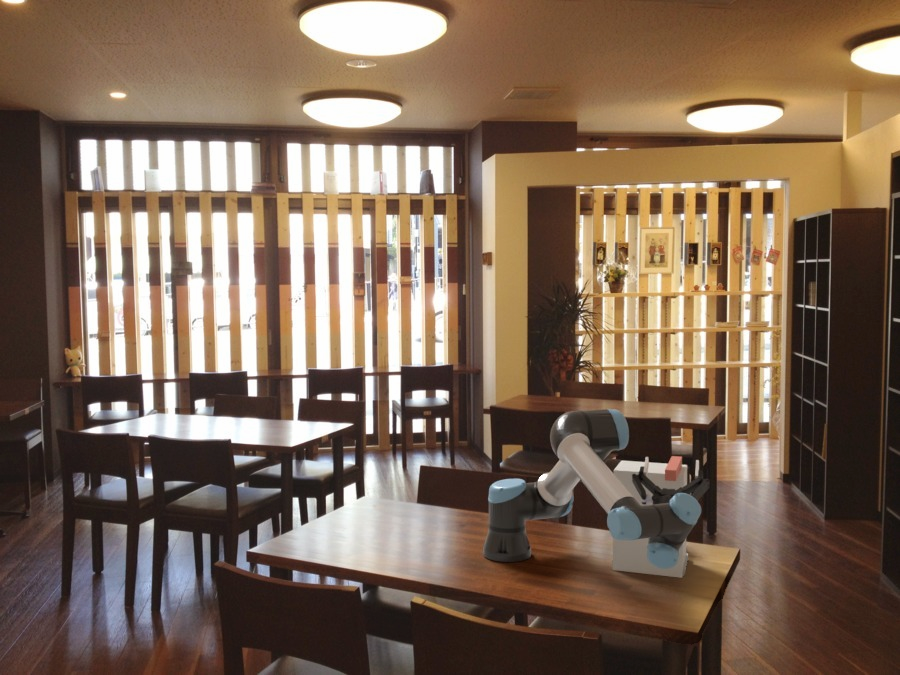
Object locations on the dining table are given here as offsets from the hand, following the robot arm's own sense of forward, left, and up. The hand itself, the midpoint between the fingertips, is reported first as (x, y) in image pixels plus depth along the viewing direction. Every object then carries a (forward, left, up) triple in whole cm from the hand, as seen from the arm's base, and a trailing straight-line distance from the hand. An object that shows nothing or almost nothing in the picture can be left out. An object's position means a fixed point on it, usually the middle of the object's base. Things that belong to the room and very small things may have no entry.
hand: (672, 462), depth 224 cm
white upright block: (-16, +8, -35) cm, 40 cm away
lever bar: (-7, +8, -5) cm, 11 cm away
